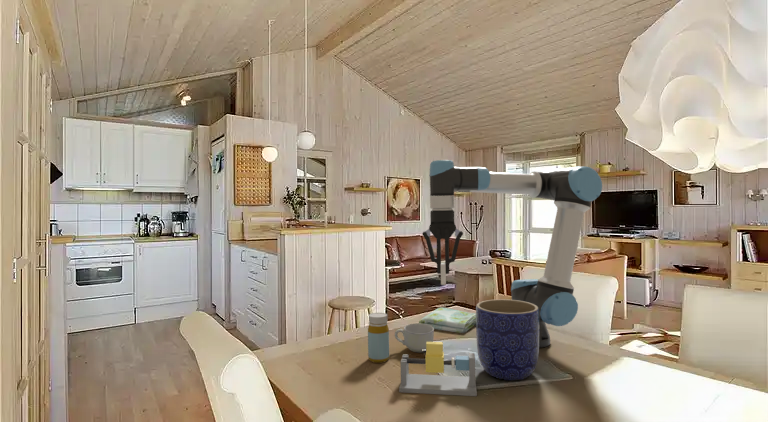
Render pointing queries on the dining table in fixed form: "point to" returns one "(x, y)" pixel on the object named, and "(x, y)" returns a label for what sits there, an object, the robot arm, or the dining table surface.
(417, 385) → the grey u-shaped stand
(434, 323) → the towel
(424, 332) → the teacup
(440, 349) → the sleeve
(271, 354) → the dining table surface
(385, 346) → the bottle
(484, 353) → the planter
